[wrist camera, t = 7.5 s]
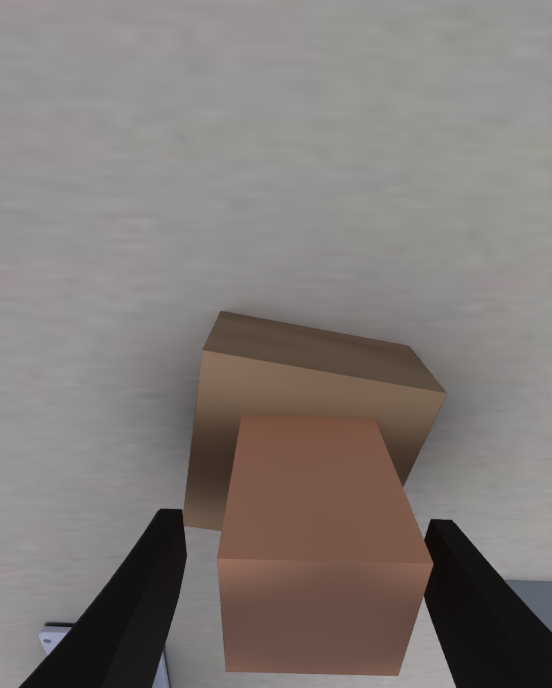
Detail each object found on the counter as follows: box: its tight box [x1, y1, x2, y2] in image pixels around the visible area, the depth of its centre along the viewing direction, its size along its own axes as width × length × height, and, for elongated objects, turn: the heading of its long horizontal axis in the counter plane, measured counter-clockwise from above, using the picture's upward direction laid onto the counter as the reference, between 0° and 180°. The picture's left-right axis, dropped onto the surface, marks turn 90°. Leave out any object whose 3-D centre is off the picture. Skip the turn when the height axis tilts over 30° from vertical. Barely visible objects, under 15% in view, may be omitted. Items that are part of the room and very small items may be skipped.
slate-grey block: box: [504, 580, 552, 632], centre depth 20 cm, size 4×4×5 cm
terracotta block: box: [217, 415, 433, 676], centre depth 10 cm, size 4×4×5 cm
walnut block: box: [183, 311, 447, 531], centre depth 15 cm, size 8×8×4 cm
